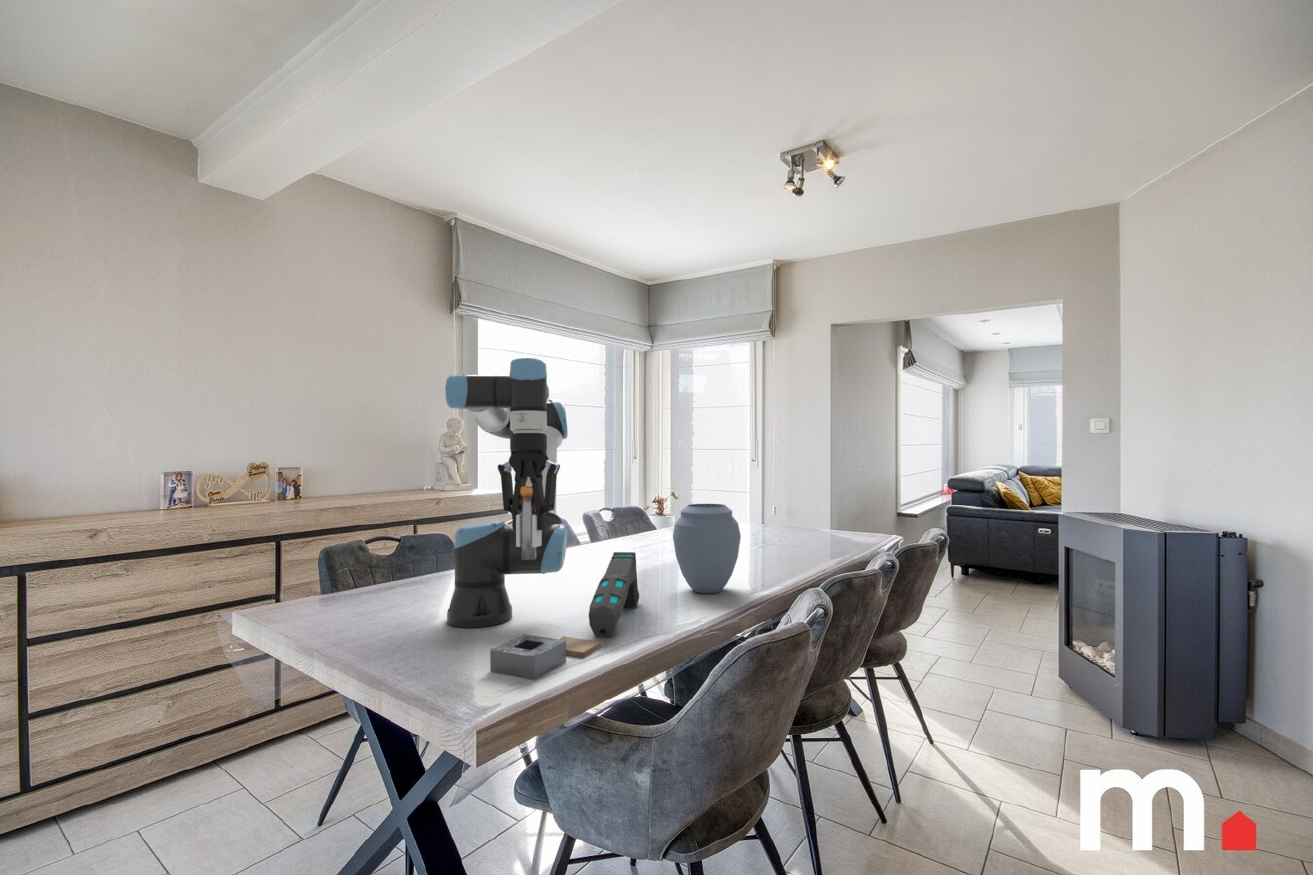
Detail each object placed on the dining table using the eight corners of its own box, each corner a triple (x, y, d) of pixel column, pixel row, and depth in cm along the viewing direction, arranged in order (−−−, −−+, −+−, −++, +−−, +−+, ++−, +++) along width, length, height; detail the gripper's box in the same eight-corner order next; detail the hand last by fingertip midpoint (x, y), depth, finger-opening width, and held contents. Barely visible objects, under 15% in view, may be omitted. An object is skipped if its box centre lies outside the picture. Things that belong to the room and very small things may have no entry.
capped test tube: (516, 559, 121) (515, 486, 122) (524, 557, 125) (524, 485, 126) (533, 560, 120) (532, 486, 121) (541, 557, 124) (541, 485, 125)
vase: (744, 584, 178) (743, 502, 178) (738, 600, 159) (737, 509, 159) (680, 581, 182) (679, 501, 183) (666, 597, 163) (666, 508, 164)
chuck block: (490, 671, 110) (490, 649, 110) (523, 654, 119) (523, 634, 119) (535, 679, 106) (535, 657, 106) (566, 661, 115) (566, 640, 115)
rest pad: (545, 651, 120) (545, 646, 120) (564, 641, 127) (564, 636, 127) (583, 657, 117) (583, 652, 117) (601, 646, 123) (601, 641, 123)
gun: (641, 596, 158) (637, 545, 154) (620, 669, 131) (615, 610, 126) (617, 595, 159) (612, 545, 155) (591, 668, 131) (585, 609, 127)
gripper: (484, 432, 122) (484, 547, 121) (556, 430, 118) (557, 549, 117) (503, 434, 130) (503, 542, 129) (571, 432, 125) (572, 544, 124)
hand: (528, 545), depth 123 cm, fingers closed on capped test tube, 3 cm apart
